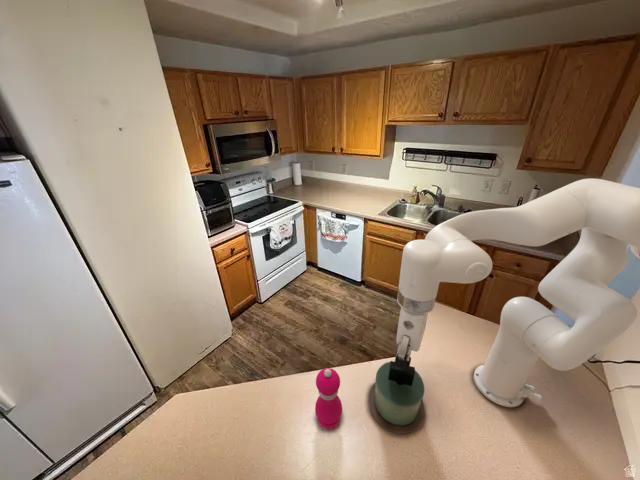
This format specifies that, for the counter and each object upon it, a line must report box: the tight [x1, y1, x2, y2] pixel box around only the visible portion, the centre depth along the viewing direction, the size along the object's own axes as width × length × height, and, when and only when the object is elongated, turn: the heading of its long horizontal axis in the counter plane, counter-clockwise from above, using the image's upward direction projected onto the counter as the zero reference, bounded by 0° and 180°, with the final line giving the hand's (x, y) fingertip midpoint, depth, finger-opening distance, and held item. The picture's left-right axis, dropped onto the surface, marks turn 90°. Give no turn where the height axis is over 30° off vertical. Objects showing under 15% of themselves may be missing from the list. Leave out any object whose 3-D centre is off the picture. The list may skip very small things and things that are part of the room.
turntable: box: [368, 381, 425, 435], centre depth 73 cm, size 15×15×1 cm
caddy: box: [374, 360, 425, 425], centre depth 69 cm, size 12×12×15 cm
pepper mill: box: [314, 367, 343, 430], centre depth 66 cm, size 7×7×20 cm
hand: (406, 350), depth 62 cm, fingers open, 9 cm apart
